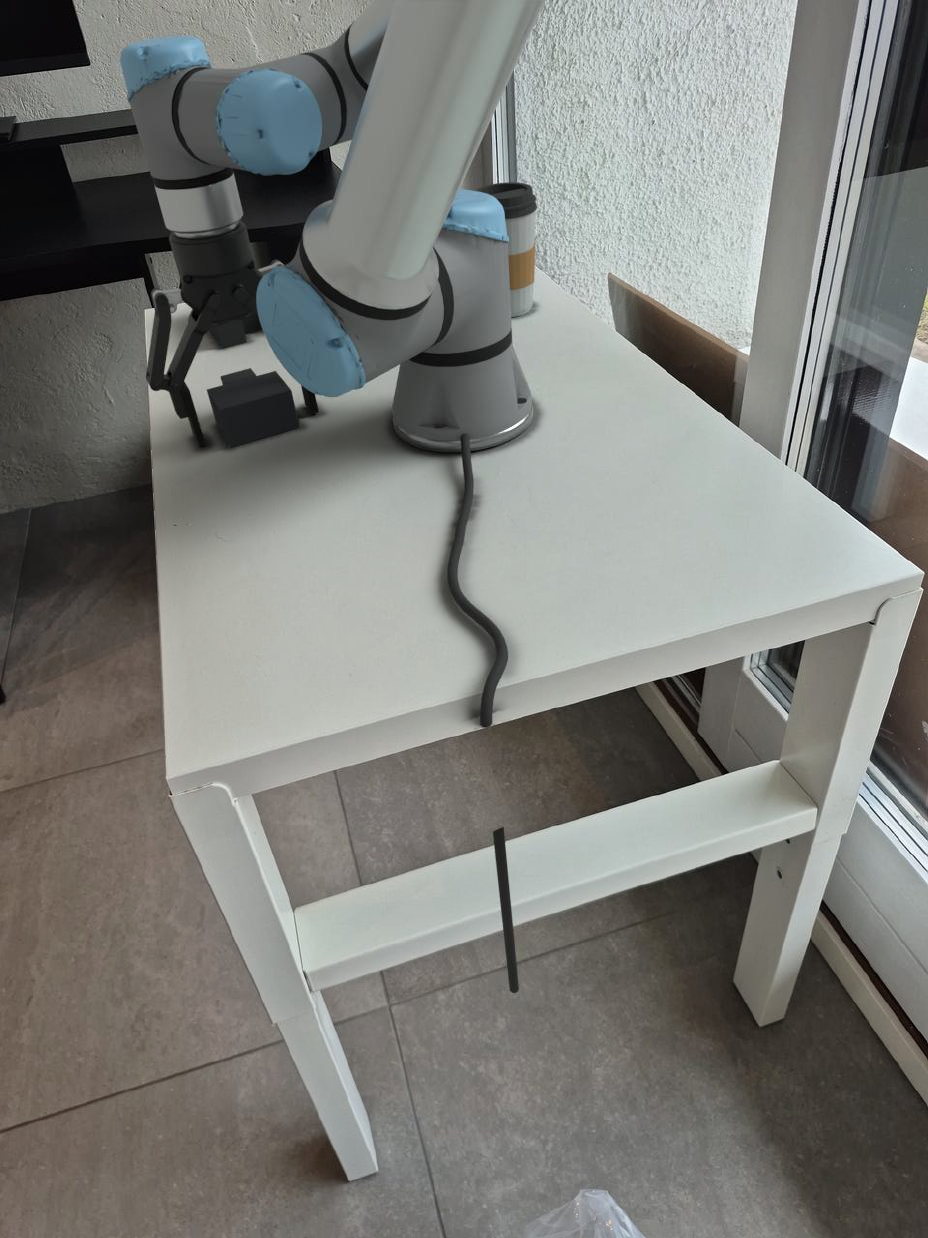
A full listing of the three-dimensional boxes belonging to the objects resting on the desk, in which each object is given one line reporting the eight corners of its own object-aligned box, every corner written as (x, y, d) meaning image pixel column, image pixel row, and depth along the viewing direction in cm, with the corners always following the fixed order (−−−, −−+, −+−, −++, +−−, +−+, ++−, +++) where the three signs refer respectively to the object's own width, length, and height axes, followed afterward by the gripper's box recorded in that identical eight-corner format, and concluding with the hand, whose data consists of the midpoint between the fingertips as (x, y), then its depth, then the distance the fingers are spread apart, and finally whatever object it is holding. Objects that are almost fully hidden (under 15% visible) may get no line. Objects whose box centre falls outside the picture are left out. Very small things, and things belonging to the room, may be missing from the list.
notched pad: (307, 326, 123) (300, 293, 121) (221, 348, 120) (212, 315, 117) (277, 296, 133) (271, 266, 131) (198, 316, 130) (189, 285, 127)
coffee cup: (468, 306, 124) (458, 189, 114) (522, 292, 126) (517, 177, 117) (495, 326, 118) (487, 204, 108) (551, 311, 120) (548, 190, 111)
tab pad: (299, 427, 100) (291, 389, 98) (230, 447, 98) (219, 409, 95) (277, 398, 107) (269, 362, 104) (211, 417, 104) (201, 380, 102)
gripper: (313, 192, 94) (347, 383, 108) (72, 243, 87) (142, 441, 101) (337, 208, 89) (370, 407, 102) (82, 264, 82) (154, 470, 95)
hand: (257, 424), depth 101 cm, fingers open, 12 cm apart
